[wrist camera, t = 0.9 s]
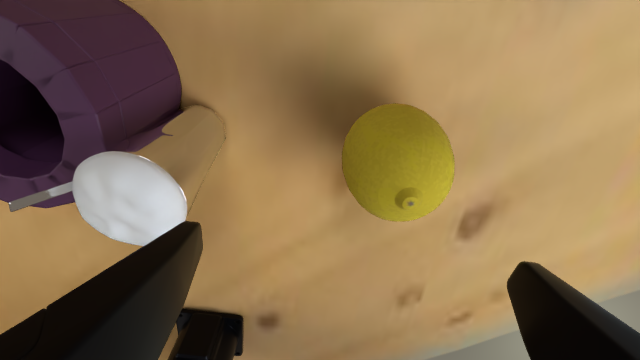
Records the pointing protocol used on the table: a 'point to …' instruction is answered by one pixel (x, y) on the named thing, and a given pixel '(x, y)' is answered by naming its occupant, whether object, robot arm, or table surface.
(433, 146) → the lemon
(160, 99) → the jar
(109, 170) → the shiny round-topped post
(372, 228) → the table surface
